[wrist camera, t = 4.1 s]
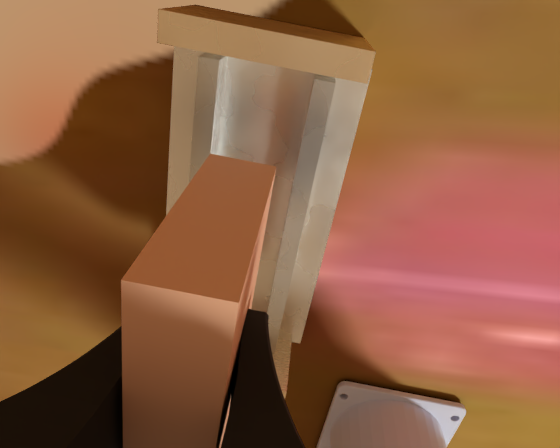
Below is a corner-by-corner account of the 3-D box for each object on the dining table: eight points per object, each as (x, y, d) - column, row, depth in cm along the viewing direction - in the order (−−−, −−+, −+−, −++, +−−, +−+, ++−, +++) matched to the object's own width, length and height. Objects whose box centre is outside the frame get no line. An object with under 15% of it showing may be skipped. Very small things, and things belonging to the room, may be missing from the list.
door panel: (238, 378, 19) (197, 564, 13) (189, 368, 19) (123, 550, 13) (276, 166, 14) (238, 302, 8) (210, 153, 14) (121, 279, 8)
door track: (297, 343, 26) (292, 407, 22) (166, 317, 26) (137, 377, 22) (376, 40, 18) (391, 54, 14) (183, 2, 18) (142, 5, 14)
